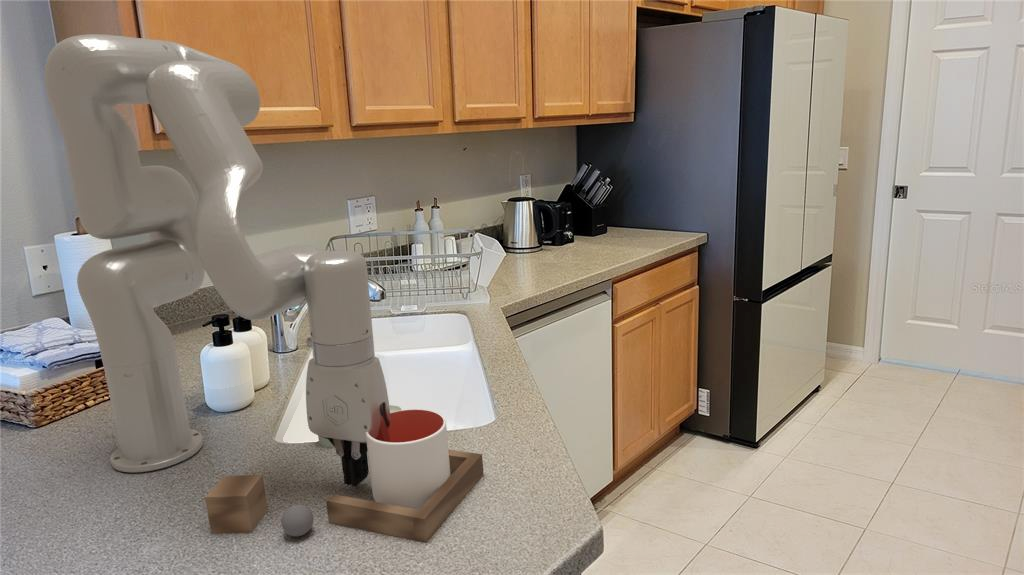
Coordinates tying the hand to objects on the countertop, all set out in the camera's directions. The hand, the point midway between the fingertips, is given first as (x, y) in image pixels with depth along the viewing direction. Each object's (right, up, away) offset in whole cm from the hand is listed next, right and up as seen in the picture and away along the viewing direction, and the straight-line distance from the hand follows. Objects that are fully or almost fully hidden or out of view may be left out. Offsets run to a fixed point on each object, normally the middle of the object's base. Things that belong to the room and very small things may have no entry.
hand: (356, 480), depth 92 cm
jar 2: (+3, +2, +11) cm, 11 cm away
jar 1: (-7, +2, +14) cm, 16 cm away
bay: (+7, -1, -2) cm, 7 cm away
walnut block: (-13, -3, -6) cm, 15 cm away
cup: (+8, -2, -3) cm, 8 cm away
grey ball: (-5, -4, -9) cm, 11 cm away
